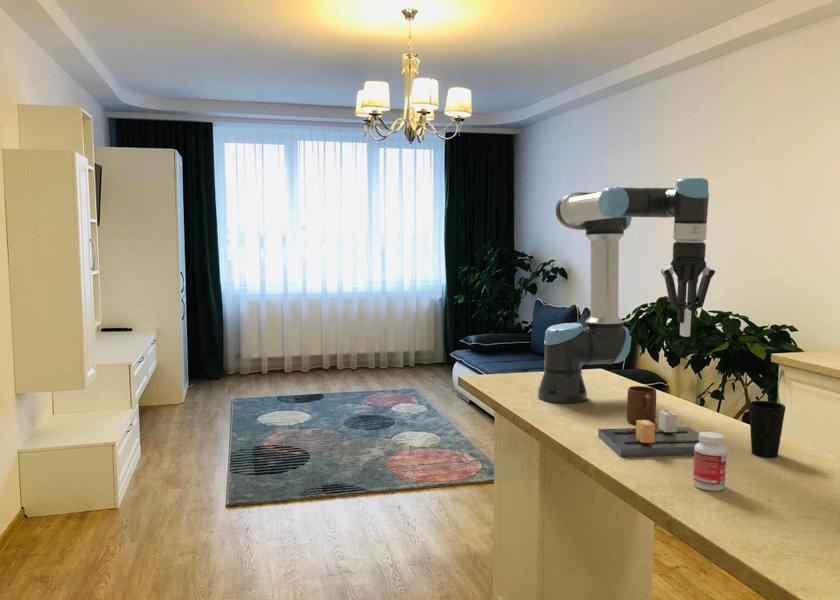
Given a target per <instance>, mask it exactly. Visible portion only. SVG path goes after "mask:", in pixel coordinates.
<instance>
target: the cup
mask: <svg viewBox="0 0 840 600" xmlns="http://www.w3.org/2000/svg"><path fill="white" fill-rule="evenodd" d="M748 409H749V428H750V447H751V454H752V455H754V456H755V457H758V458H759V457H760V458H764V459H775V458H777V457H778V456H779V449H780V445H781V443H780V442H781V438H782V437H781V436H782V433H783V425H784V420H785V412H786V406H785V405H784V404H782V403H780V402H779V403H778V402H776V401H775V402H774V401H769V400H767V401H766V400H753V401H750V402H749V404H748Z"/></svg>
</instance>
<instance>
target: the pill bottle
mask: <svg viewBox="0 0 840 600" xmlns="http://www.w3.org/2000/svg"><path fill="white" fill-rule="evenodd" d="M698 439H699V441H700V442H699V443H697V444H696V445H695V448H694V455H693V475H692V476H693V477H692V483H693V485H694V486H695V488H698V489H699V490H703V491H704V490H705V491H711V492H718V491H719V492H720V491H722V490H724V488H725V486H726V484H725V483H726V473H727V472H726V470H727V448H726V446H724V445H723V442H724V435H723V434H720V433H717V432H712V431H700V432H699V438H698Z"/></svg>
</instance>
